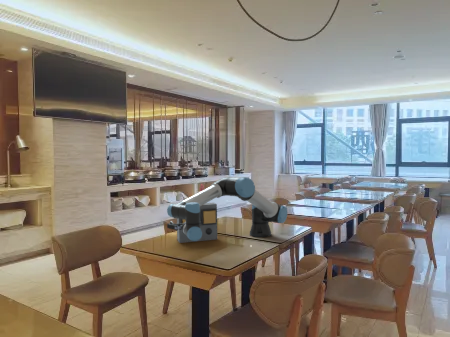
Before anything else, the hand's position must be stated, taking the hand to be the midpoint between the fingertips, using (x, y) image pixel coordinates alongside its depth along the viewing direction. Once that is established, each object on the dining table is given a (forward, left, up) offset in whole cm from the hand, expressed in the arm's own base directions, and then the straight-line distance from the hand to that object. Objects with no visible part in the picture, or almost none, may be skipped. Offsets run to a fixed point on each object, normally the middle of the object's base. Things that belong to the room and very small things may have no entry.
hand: (181, 222), depth 213 cm
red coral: (-44, -46, -17) cm, 66 cm away
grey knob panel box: (-19, -14, -16) cm, 29 cm away
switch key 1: (-11, -10, -4) cm, 16 cm away
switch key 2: (-24, -6, -4) cm, 25 cm away
